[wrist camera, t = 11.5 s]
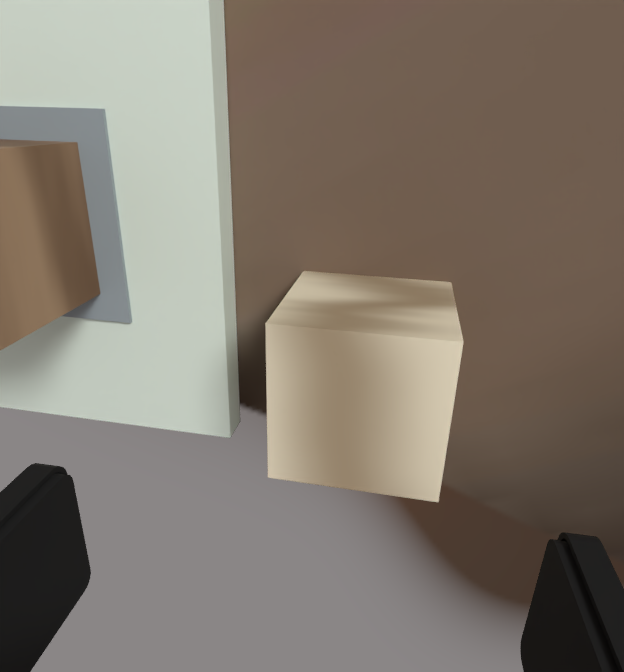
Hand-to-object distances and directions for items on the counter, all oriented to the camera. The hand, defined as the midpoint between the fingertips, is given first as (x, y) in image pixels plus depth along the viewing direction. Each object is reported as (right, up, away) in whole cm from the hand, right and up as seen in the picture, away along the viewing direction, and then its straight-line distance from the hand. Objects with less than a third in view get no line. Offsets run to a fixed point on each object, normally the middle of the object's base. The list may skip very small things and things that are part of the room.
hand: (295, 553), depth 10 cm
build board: (-9, +9, +9) cm, 15 cm away
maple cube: (+2, +4, +8) cm, 10 cm away
